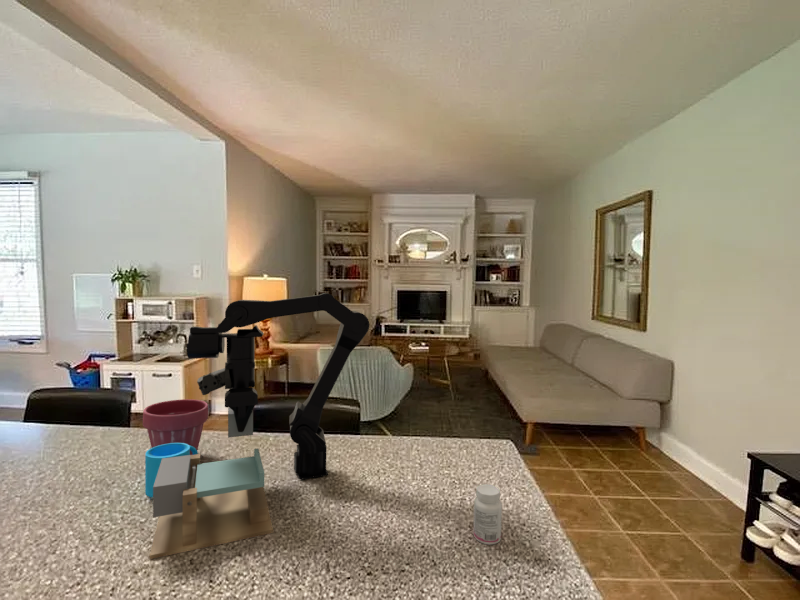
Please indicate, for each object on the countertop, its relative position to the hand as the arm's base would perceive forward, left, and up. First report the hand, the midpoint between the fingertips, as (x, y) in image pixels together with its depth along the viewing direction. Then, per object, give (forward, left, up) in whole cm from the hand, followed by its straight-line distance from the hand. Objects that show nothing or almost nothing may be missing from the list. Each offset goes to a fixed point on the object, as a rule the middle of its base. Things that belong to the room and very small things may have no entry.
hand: (240, 427), depth 92 cm
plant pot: (+14, -17, -12) cm, 25 cm away
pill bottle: (-38, +39, -12) cm, 55 cm away
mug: (+13, -2, -12) cm, 17 cm away
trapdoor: (+6, +15, -6) cm, 17 cm away
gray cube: (0, 0, -1) cm, 1 cm away
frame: (+5, +15, -11) cm, 19 cm away
